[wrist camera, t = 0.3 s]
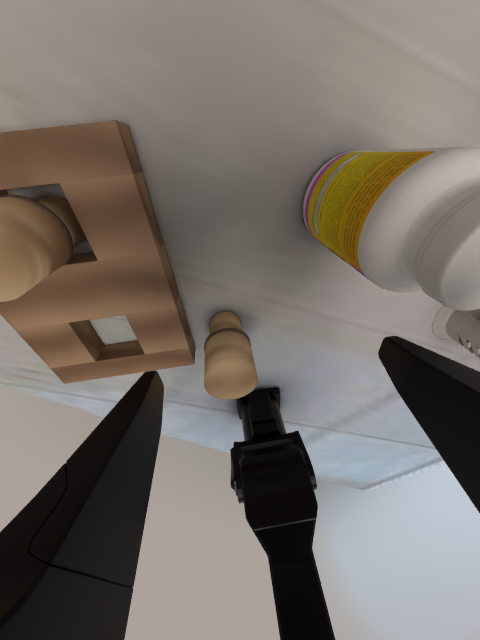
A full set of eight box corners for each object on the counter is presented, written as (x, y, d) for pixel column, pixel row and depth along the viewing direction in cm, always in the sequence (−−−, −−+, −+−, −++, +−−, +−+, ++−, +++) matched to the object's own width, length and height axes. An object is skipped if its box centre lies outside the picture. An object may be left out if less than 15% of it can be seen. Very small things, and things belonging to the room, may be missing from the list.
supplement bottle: (293, 241, 20) (383, 333, 10) (310, 148, 16) (494, 134, 6) (362, 241, 21) (514, 327, 10) (394, 153, 17) (691, 148, 6)
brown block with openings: (195, 348, 26) (191, 411, 20) (75, 366, 26) (30, 436, 19) (128, 125, 14) (61, 99, 8) (-101, 150, 14) (-374, 145, 7)
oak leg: (246, 336, 26) (259, 395, 20) (208, 342, 26) (208, 403, 19) (243, 304, 23) (257, 360, 17) (201, 310, 23) (198, 369, 17)
